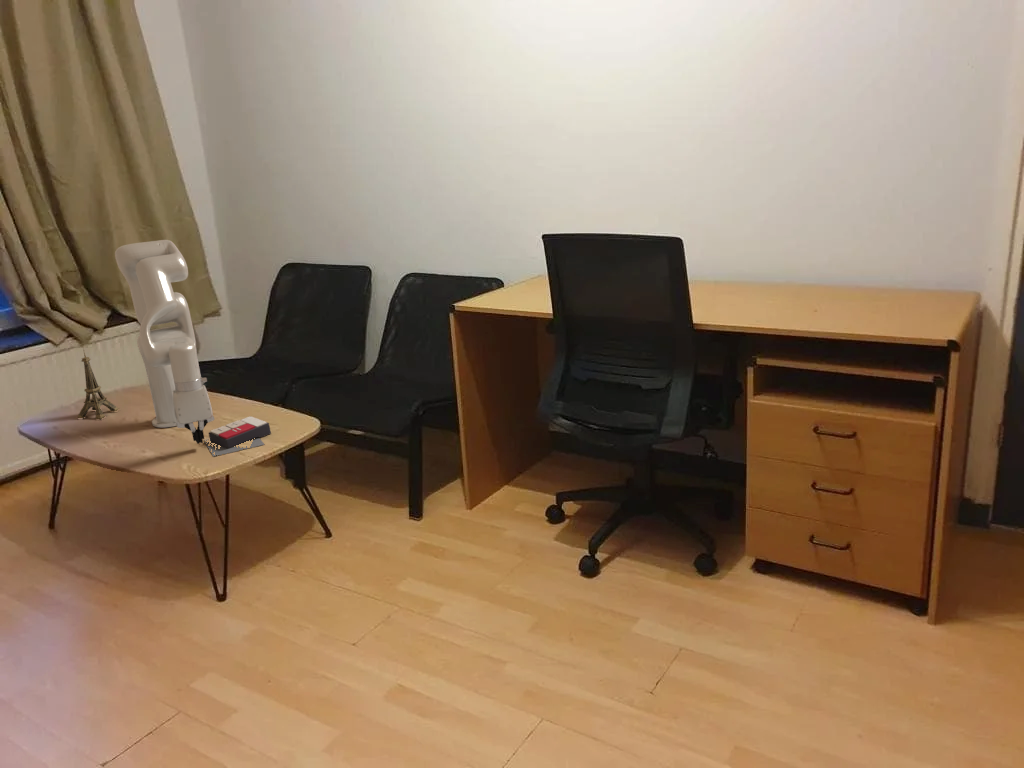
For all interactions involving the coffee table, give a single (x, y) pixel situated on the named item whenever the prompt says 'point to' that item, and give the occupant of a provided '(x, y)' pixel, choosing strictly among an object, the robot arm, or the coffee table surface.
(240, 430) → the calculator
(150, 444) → the coffee table surface
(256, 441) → the desk mat
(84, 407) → the eiffel tower
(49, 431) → the coffee table surface
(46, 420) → the coffee table surface
